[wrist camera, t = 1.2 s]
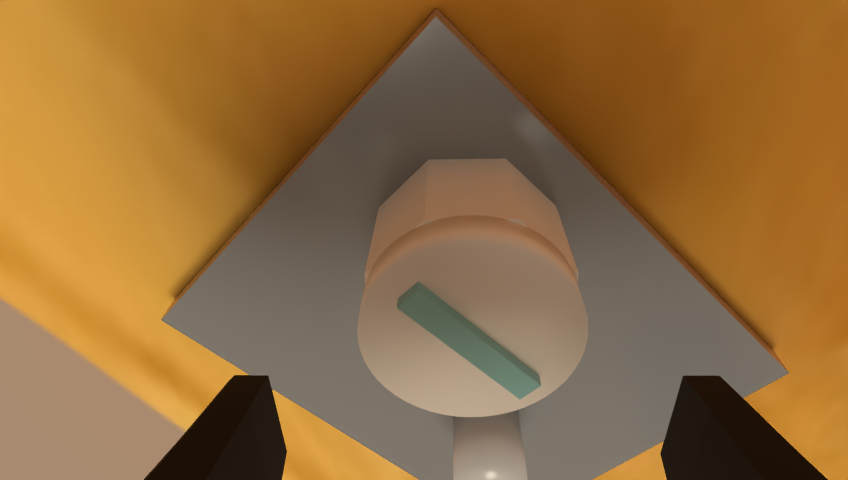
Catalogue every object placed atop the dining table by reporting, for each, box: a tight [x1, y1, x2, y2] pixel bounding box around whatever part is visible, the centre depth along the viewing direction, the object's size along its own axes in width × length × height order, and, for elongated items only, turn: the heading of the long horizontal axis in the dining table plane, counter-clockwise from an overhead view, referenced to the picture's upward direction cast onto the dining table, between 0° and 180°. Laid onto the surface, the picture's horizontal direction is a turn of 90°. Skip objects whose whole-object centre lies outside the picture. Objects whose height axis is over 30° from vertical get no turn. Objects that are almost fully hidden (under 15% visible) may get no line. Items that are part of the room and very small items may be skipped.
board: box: [161, 8, 789, 480], centre depth 17 cm, size 15×12×4 cm
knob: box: [357, 158, 589, 417], centre depth 13 cm, size 5×5×4 cm
